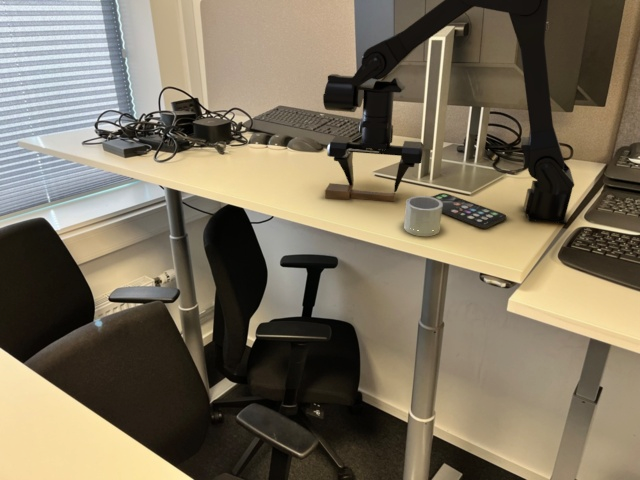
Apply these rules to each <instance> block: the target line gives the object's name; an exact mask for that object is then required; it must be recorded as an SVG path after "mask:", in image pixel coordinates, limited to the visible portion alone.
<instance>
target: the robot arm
mask: <svg viewBox="0 0 640 480" xmlns="http://www.w3.org/2000/svg"><path fill="white" fill-rule="evenodd" d="M548 7H549V0H443V1H441V2H440V3H439V4H437V5H435V7H433V8H431V10H429V11H428V12H426V13H425V14H424V15H423V16H421V17H420V18H418V19H417V20H416V21H414V22H413V23H412V24H410V25H409V26H408V27H407V28H404V30H402V31H400V32H399V33H396V34H394V35H391V36H390V37H388V38H386V39H384V40H381V41H380V42H378V43H376V44H374V45H372V46H370V47H369V48H367V49H366V50H365V51H364V52H363V54H362V56H361V66H360V67H359V68H358V69H357V71H356V72H355V73H354V75H340V74H338V73H337V74H336V73H331V74H329V75H327V83H326V84H325V86H324V87H325V88H324V93H323V94H322V101H323V102H322V103H323V107H324V109H325V111H333V112H344V113H345V112H346V113H355V112H356V111H357V108H362V118H360V122H359V128H358V133H359V134H360V135H361V142H353V138H352V137H351V136H339V135H335V136H334V137H333V138H332V139H330V142H329V143H328V144H327V148H326V149H327V150H326V151H327V153H326V154H327V155H326V156H327V157H329V158H333V161H334V162H337V163H338V164H339V166H340V167H341V169H342V171H343V173H344V175H345V177H346V180H347V183H348V185H353V186H354V183H355V182H354V180H355V179H354V177H355V176H354V165H353V159H354V158H353V157H354V153H358V154H371V155H384V156H385V155H387V156H396V157H397V156H400V161H399V163H398V167H397V172H396V177H395V181H394V187H393V189H394V190H393V191H394V193H397V191H398V189H399V186H400V185H401V183H402V179H403V178H404V176H405V174H406V172H407V171H408V170H409V168H414V167H415V165H419V164H422V162H423V158H424V157H423V156H424V151H425V145H424V143H423V142H422V141H410V140H404V141H403V144H402V145H394V144H393V145H391V144H392V143H393V137H394V125H393V110H394V95H395V93H398V94H400V93H402V92H403V91H404V90H406V85H404V84H403V82H401V81H400V79H399V77H398V76H395V77H394V78H393V79H392V80H382V79H384V78H385V77H388V76H389V75H391V74H392V73H393V72H395V71H396V69H398V68H399V67H400V66H401V65H402V63H403V62H405V61H406V59H408V58H409V56H410V55H412V53H413V52H415V50H416V49H417V48H418V47H420V46H421V45H422V44H424V43H425V42H427V41H428V40H429V39H431V38H433V37H434V36H435V35H437V34H438V33H439V32H440V31H442V30H444V29H445V28H446V27H448V26H449V25H450V24H452V23H453V22H455V21H456V20H458V19H459V18H460V17H462V16H463V15H464V14H466V13H467V12H469V11H470V10H471V9H473V8H481V9H487V10H491V11H497V12H502V13H508V15H509V18H510V22H511V25H512V28H513V31H514V34H515V36H516V40H517V42H518V46H519V49H520V56H521V64H522V73H523V81H524V82H523V83H524V90H525V97H526V105H527V111H528V112H527V113H528V121H529V133H528V136H521V137H520V148H521V151H522V154H523V158H522V159H523V162H522V163H523V169H527V171H528V174H529V176H530V177H531V178H532V179H534V180H531V181H532V182H531V185H530V187H529V188H527V189H526V195H525V199H524V204H523V211H524V214H525V215H526V217H527V219H528V221H530V222H536V223H537V222H538V223H547V224H559V225H567V224H568V220H567V218H566V216H567V211H568V208H569V204H570V201H571V197H572V192H573V188H574V186H575V182H574V179H573V174H572V171H571V168H570V167H569V166H568V164H567V163H566V162H565V159H564V155H563V152H562V148H561V145H560V142H559V138H558V136H557V132H556V129H555V125H554V122H553V112H552V103H551V93H550V84H549V74H548V64H547V54H546V44H545V43H546V42H545V41H546V40H545V39H546V30H547V22H548V21H547V20H548V10H549V9H548ZM371 79H372V80H376V81H375V82H374V84H365V83H367V82H368V81H370V80H371Z"/></svg>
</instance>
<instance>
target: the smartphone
mask: <svg viewBox="0 0 640 480" xmlns="http://www.w3.org/2000/svg"><path fill="white" fill-rule="evenodd" d="M431 197H433V198H436V199H438V200H440V201H441V202H442V203H443V207H442V214H445V215H447V216H450V217H453V218H455V219H457V220H460V221H462V222H465V223H468V224H471V225H473V226H476V227H478V228H480V229H488V228H490V227H492V226H494V225H496V224H499V223H501V222H503V221H504V220H506V219H507V215H506V214H505V213H503V212H500V211H497V210H494V209H491V208H489V207H486V206H484V205H480V204H478V203H474V202H471V201H469V200H466V199H463V198H460V197H457V196H455V195H451V194H449V193H445V192H442V193H441V192H440V193H438V194H435V195H432V196H431Z"/></svg>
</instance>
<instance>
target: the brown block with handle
mask: <svg viewBox="0 0 640 480" xmlns="http://www.w3.org/2000/svg"><path fill="white" fill-rule="evenodd" d="M324 198H325V199H331V200H332V199H333V200H343V201H350V199H356V200H357V199H358V200H370V201H380V202H381V201H382V202H391V203H393V202H395V200H396V192H394V193H393V192H381V191H372V190H370V191H369V190H359V189H358V190H357V189H354V184H353V185H349V184H344V183H331V182H329V184H328V185H327V186H326V188H325V190H324Z"/></svg>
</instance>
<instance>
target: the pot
mask: <svg viewBox="0 0 640 480" xmlns="http://www.w3.org/2000/svg"><path fill="white" fill-rule="evenodd" d="M442 207H443V203H442V202H441V201H440V200H438V199H436V198H433V197H432V196H426V195H417V196H412V197H411V196H410V197H409V198H407V199H406V201H405V210H404V211H405V212H404V223H403V224H404V225H403V228H404V231H406V232H407V233H408V234H411V235H413V236H417V237H433V236H435V235H438V234H439V233H440V231H441V230H440V229H441V222H442V215H443V213H442ZM410 228H411V229H410ZM413 229H414V230H413ZM417 230H419V231H417ZM432 230H434V231H432Z"/></svg>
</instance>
